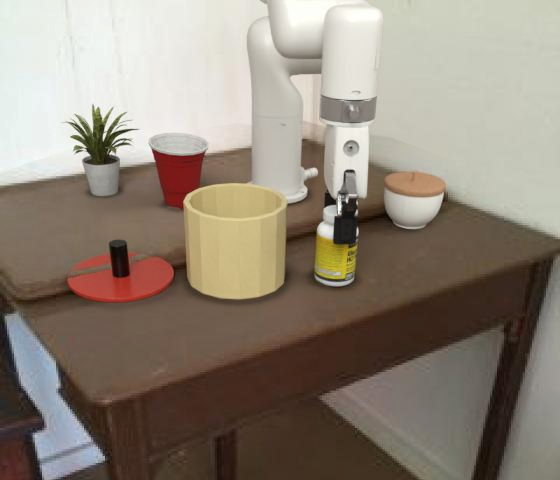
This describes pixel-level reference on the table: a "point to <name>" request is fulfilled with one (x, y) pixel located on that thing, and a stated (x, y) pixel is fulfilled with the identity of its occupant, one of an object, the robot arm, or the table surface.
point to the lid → (122, 276)
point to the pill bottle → (333, 254)
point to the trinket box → (413, 198)
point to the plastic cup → (178, 164)
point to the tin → (235, 240)
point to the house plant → (100, 152)
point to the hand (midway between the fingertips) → (338, 230)
